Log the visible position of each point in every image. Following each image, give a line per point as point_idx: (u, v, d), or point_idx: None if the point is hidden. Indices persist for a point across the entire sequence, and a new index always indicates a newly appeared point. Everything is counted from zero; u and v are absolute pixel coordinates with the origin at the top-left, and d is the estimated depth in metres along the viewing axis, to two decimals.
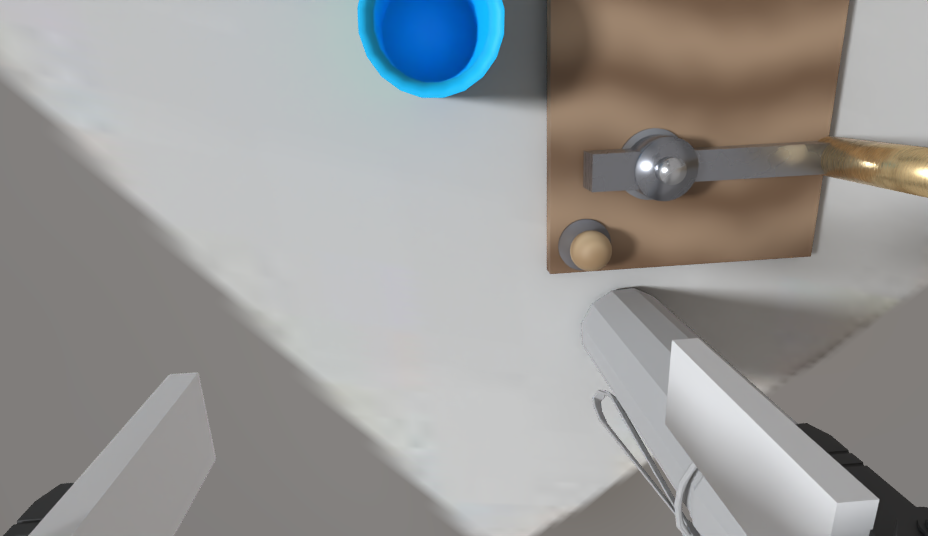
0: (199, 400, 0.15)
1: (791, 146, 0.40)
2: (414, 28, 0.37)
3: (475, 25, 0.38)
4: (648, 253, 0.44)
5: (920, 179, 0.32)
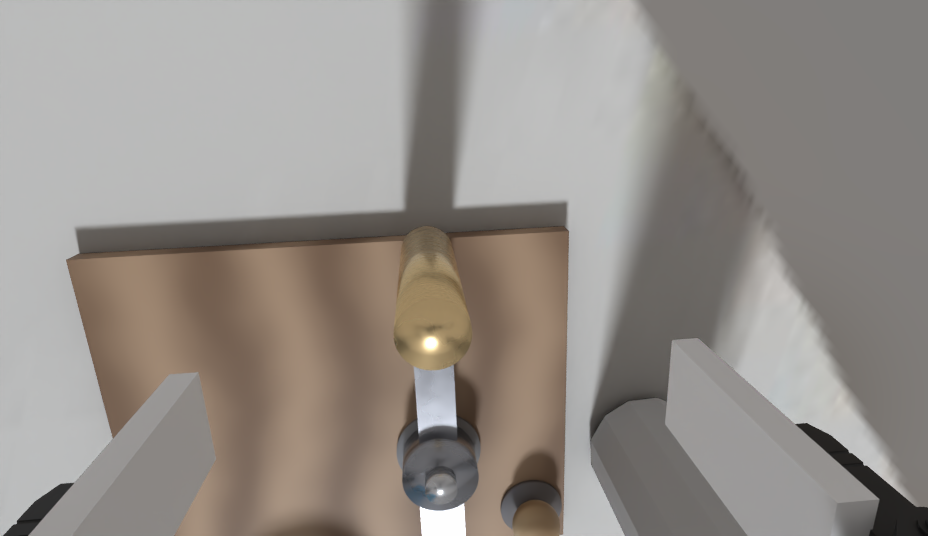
0: (199, 400, 0.15)
1: None
2: None
3: None
4: (547, 437, 0.35)
5: None
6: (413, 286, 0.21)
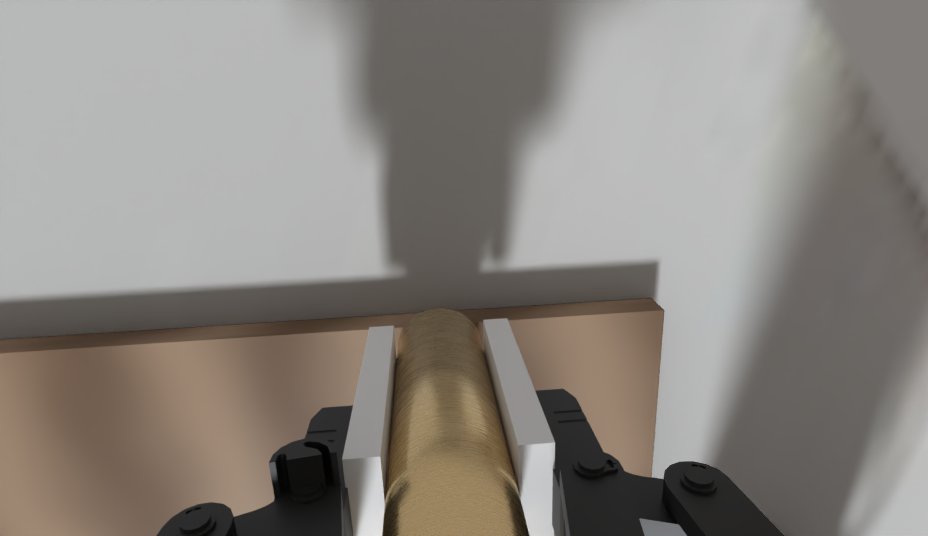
0: (394, 349, 0.17)
1: None
2: None
3: None
4: None
5: None
6: (419, 515, 0.10)
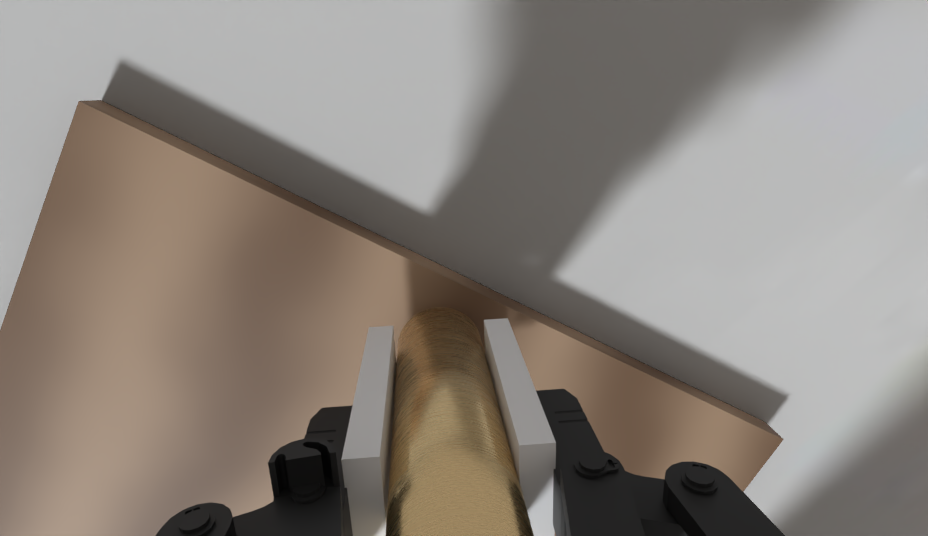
0: (394, 349, 0.17)
1: None
2: None
3: None
4: None
5: None
6: (426, 512, 0.10)
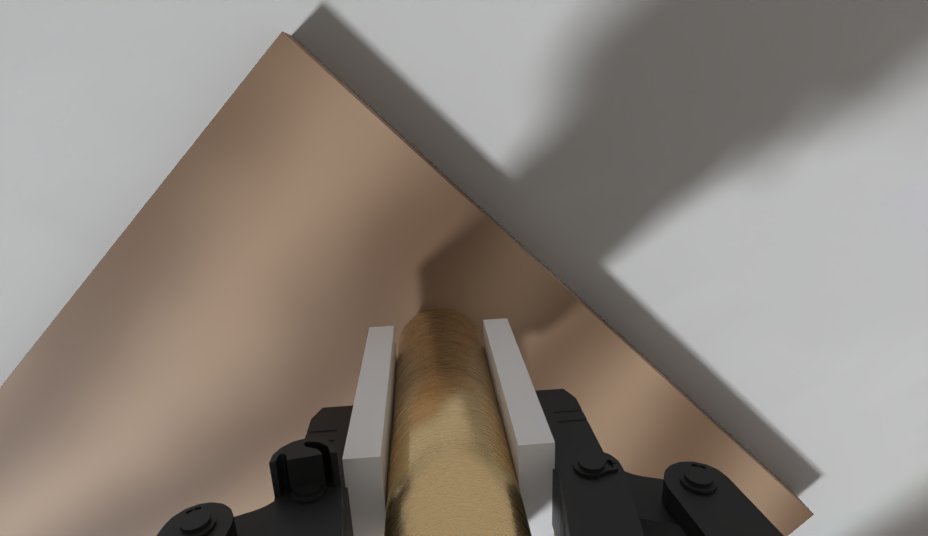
0: (395, 349, 0.17)
1: None
2: None
3: None
4: None
5: None
6: (422, 514, 0.10)
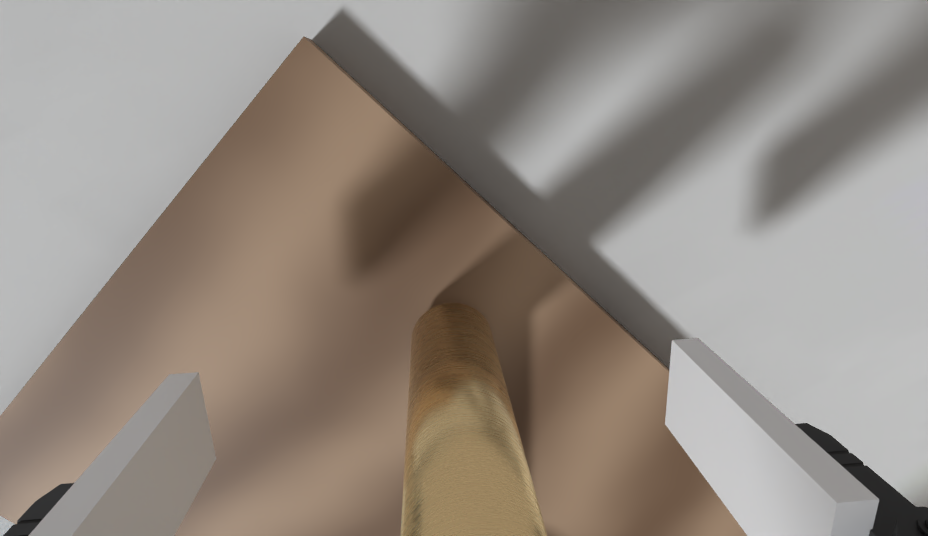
0: (199, 400, 0.15)
1: None
2: None
3: None
4: None
5: None
6: (439, 490, 0.10)
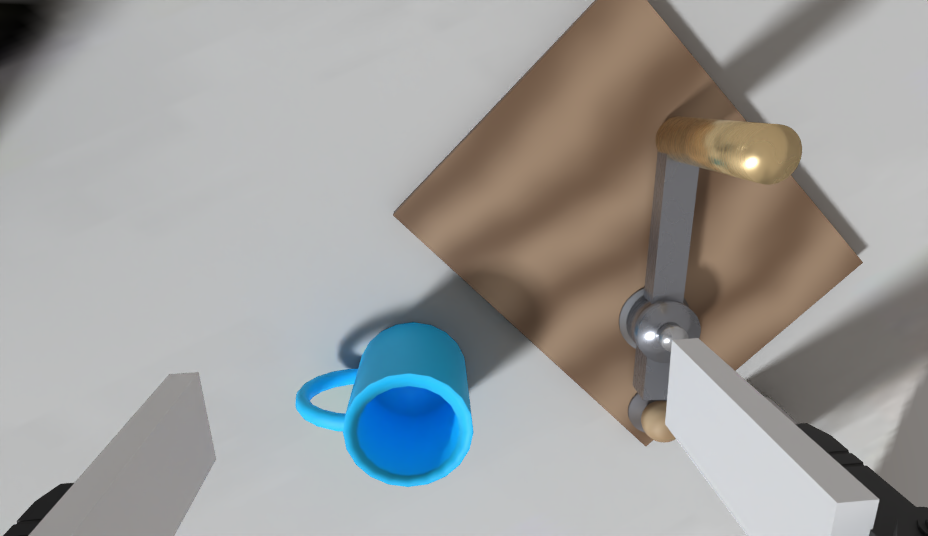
0: (199, 400, 0.15)
1: (664, 198, 0.37)
2: None
3: None
4: None
5: None
6: (743, 125, 0.28)
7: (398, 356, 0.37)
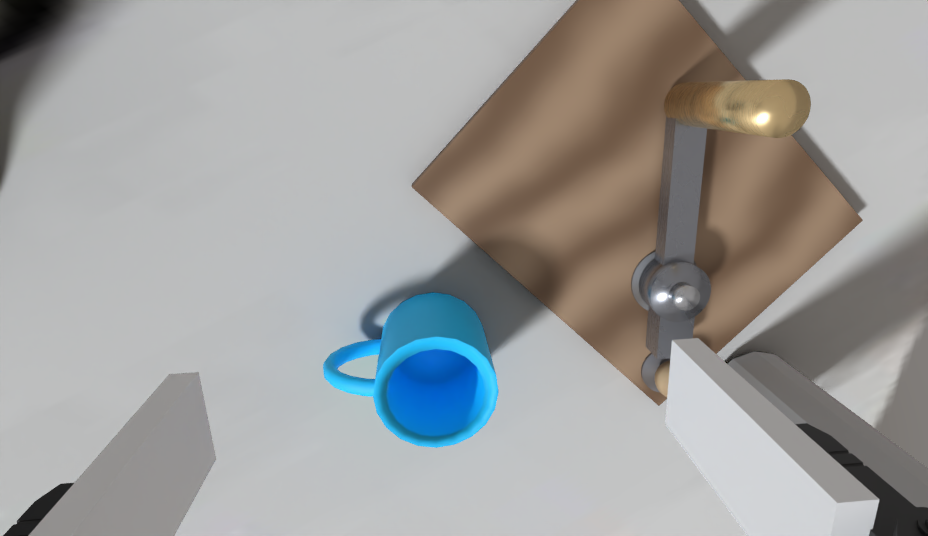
0: (199, 400, 0.15)
1: (673, 162, 0.38)
2: (421, 354, 0.43)
3: None
4: (721, 333, 0.45)
5: None
6: (754, 83, 0.29)
7: (423, 322, 0.38)
